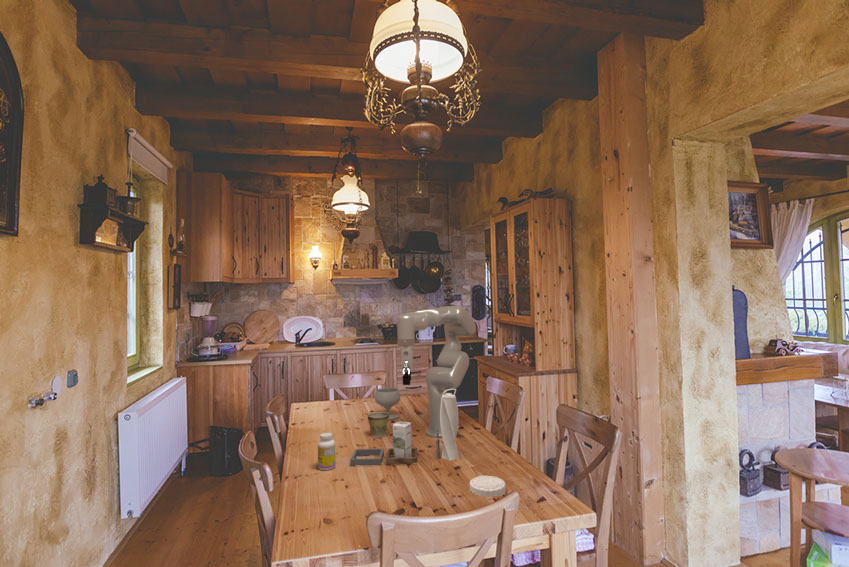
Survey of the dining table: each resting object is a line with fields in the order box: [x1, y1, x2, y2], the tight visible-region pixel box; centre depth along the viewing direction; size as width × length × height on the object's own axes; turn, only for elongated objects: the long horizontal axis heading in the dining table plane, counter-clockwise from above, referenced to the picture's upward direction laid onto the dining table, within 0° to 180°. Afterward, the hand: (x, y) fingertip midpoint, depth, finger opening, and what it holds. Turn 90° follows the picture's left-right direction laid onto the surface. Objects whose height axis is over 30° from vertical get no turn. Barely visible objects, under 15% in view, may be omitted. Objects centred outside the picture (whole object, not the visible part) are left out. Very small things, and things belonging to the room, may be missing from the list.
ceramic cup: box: [367, 411, 390, 439], centre depth 211 cm, size 13×10×10 cm
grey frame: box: [349, 448, 385, 467], centre depth 178 cm, size 12×12×2 cm
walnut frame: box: [385, 447, 418, 466], centre depth 178 cm, size 12×12×2 cm
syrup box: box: [392, 421, 413, 458], centre depth 178 cm, size 6×6×14 cm
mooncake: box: [468, 474, 507, 498], centre depth 147 cm, size 12×12×4 cm
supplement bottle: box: [317, 432, 336, 471], centre depth 171 cm, size 7×7×13 cm
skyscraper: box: [435, 388, 460, 461], centre depth 177 cm, size 8×8×28 cm
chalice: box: [374, 387, 401, 421], centre depth 242 cm, size 14×14×15 cm
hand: (407, 382), depth 192 cm, fingers open, 9 cm apart
